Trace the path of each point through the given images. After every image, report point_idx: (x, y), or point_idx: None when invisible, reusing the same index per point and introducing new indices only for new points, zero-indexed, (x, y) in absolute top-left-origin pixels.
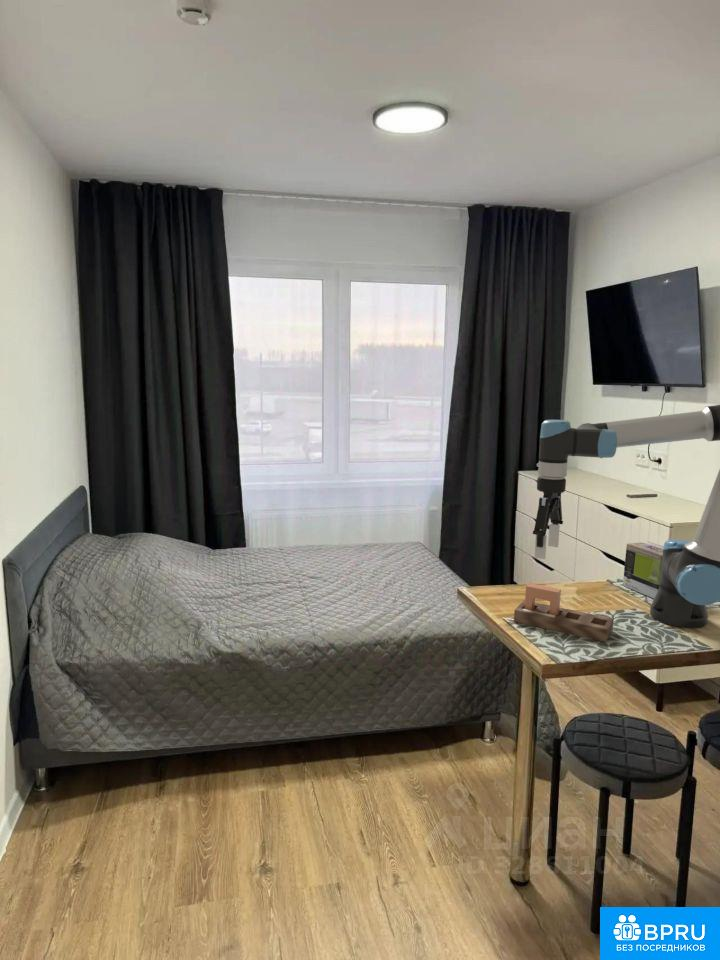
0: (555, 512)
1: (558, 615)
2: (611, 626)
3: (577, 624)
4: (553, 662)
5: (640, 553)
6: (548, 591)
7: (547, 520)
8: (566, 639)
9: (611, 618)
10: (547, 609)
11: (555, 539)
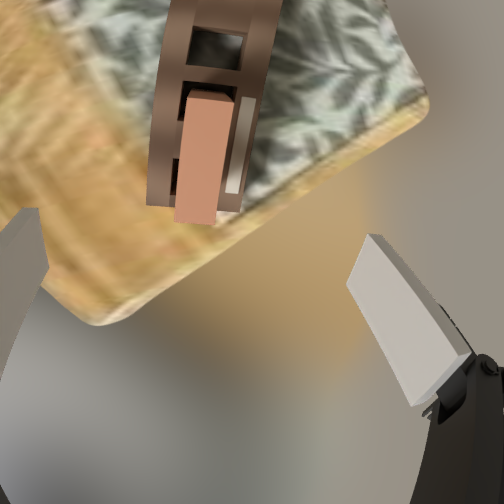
0: None
1: (196, 90)
2: None
3: (275, 32)
4: (424, 99)
5: None
6: (227, 140)
7: (500, 476)
8: (303, 60)
9: None
10: None
11: (16, 259)
